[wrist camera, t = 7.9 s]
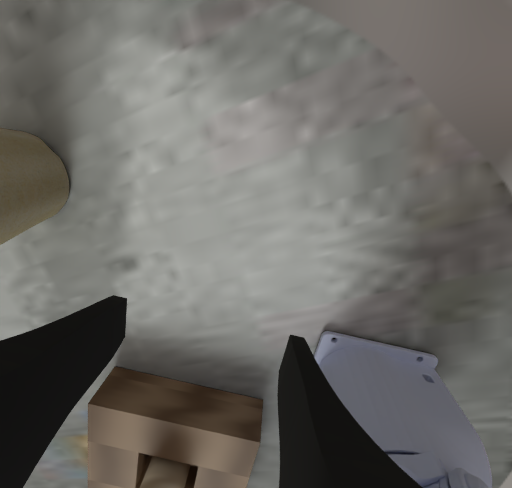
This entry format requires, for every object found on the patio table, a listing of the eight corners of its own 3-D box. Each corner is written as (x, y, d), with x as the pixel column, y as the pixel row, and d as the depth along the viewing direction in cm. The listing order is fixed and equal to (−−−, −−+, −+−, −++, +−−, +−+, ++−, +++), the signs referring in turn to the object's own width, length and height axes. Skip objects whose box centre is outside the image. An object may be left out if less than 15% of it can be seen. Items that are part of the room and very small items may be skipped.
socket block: (263, 399, 27) (260, 442, 23) (235, 492, 32) (229, 540, 28) (115, 366, 27) (87, 403, 23) (110, 464, 32) (87, 508, 28)
